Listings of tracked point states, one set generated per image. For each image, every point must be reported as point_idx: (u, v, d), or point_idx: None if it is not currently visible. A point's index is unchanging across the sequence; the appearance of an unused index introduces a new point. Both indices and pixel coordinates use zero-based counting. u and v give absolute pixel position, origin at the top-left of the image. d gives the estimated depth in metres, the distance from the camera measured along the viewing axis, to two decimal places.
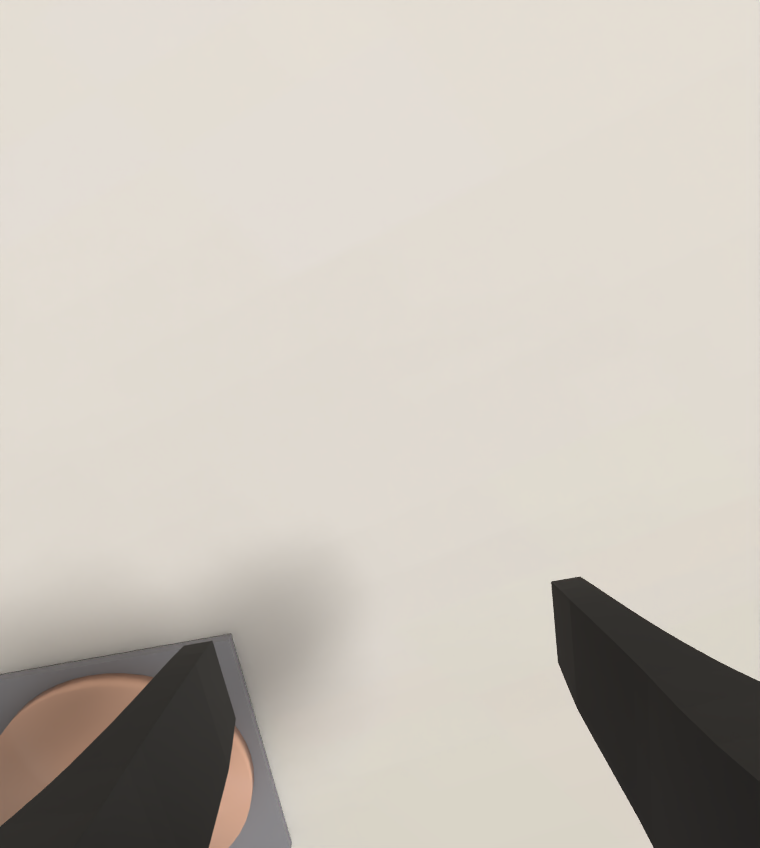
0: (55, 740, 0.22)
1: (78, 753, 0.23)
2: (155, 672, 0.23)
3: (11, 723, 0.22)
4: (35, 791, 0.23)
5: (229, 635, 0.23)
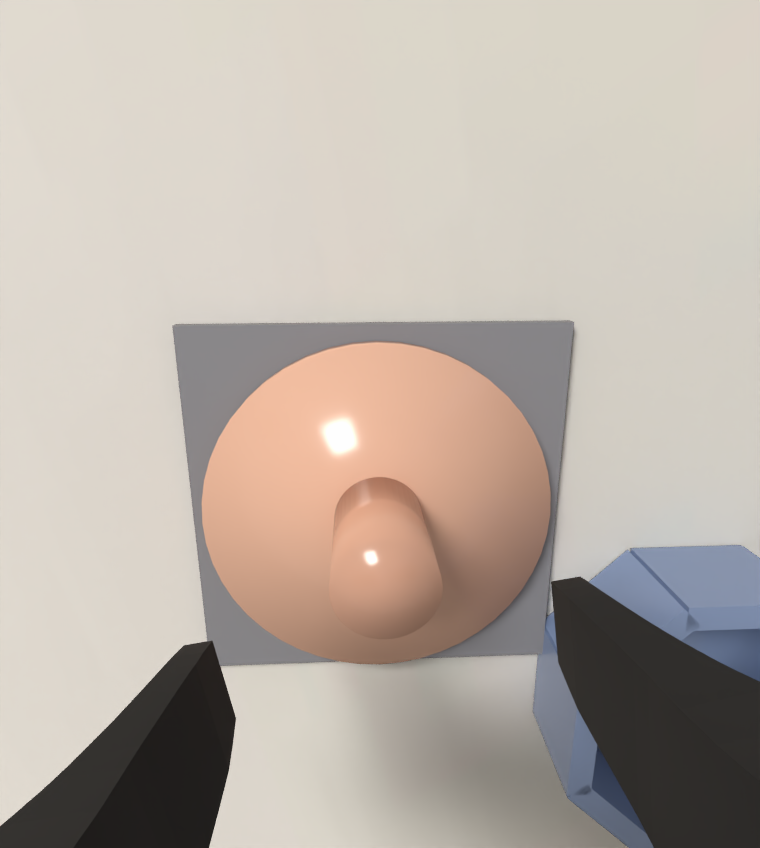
0: (277, 569, 0.18)
1: (302, 550, 0.17)
2: (213, 432, 0.17)
3: (244, 609, 0.18)
4: None
5: None
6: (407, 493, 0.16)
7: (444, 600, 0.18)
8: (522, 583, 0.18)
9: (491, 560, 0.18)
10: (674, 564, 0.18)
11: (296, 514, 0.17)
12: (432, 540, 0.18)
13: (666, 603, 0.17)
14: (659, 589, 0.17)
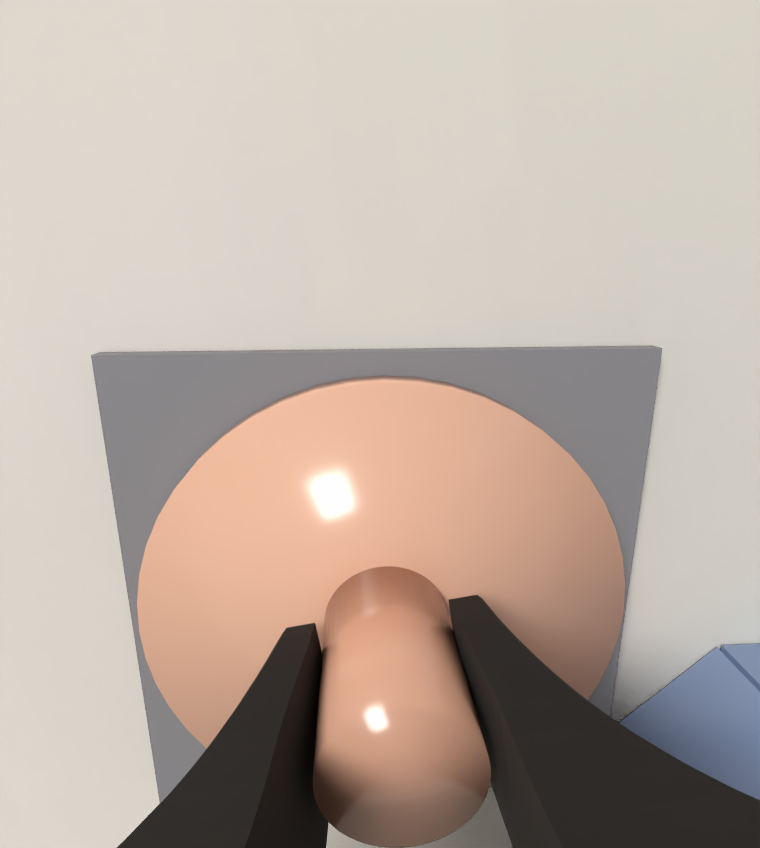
0: (245, 690, 0.13)
1: None
2: (155, 503, 0.12)
3: (202, 741, 0.13)
4: None
5: None
6: (427, 593, 0.11)
7: None
8: None
9: None
10: None
11: (271, 617, 0.12)
12: None
13: None
14: None
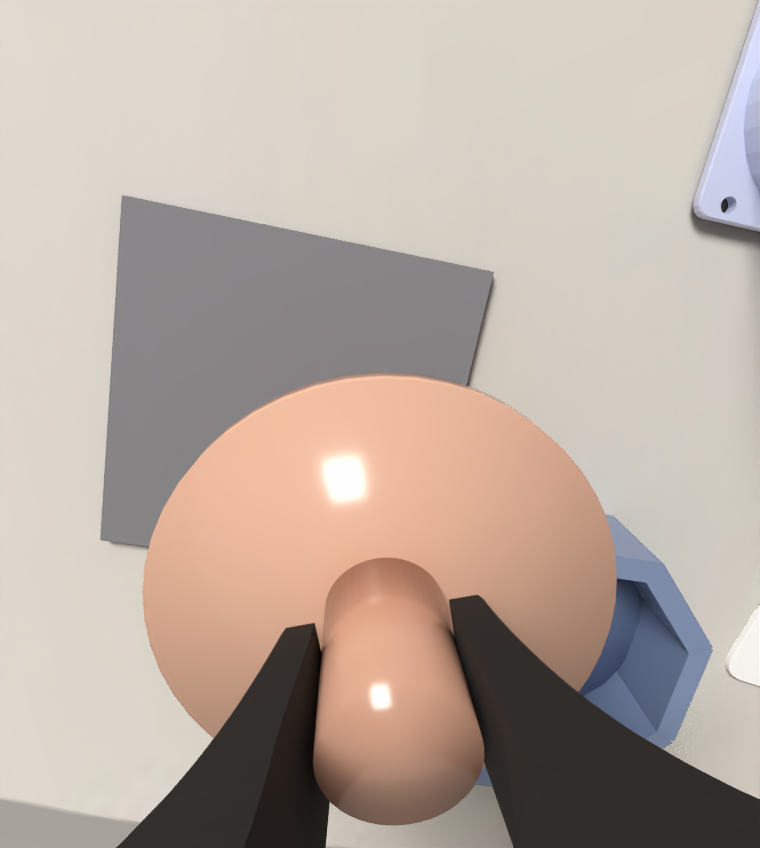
0: (247, 678, 0.13)
1: None
2: (143, 308, 0.18)
3: (205, 727, 0.13)
4: None
5: None
6: (425, 583, 0.12)
7: None
8: None
9: None
10: None
11: (273, 607, 0.13)
12: None
13: None
14: None
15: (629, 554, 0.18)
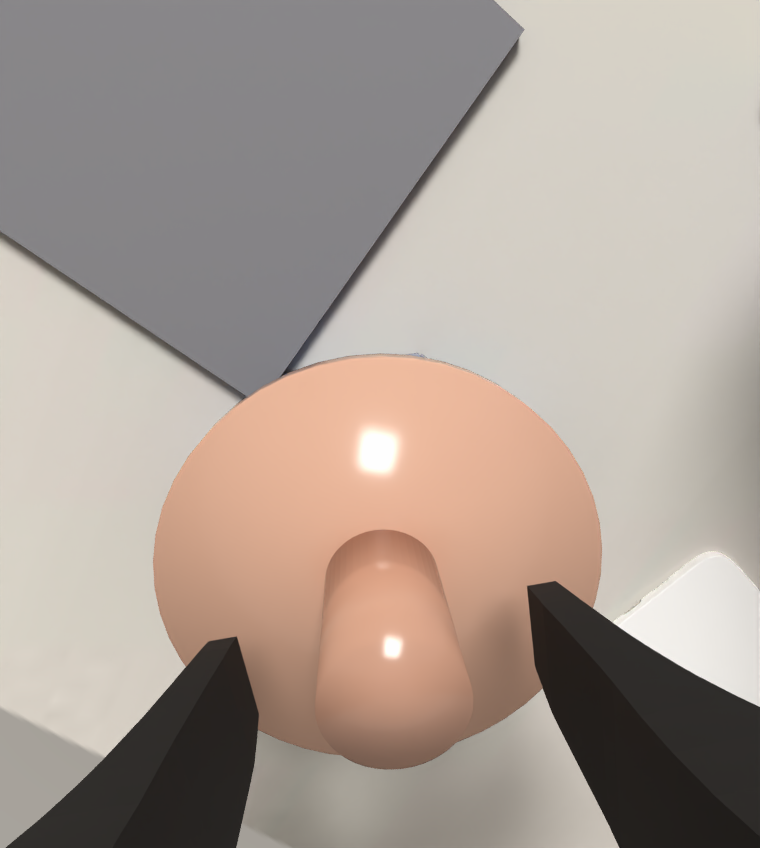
0: (251, 644, 0.14)
1: (285, 621, 0.14)
2: None
3: None
4: None
5: None
6: (420, 553, 0.13)
7: None
8: None
9: (523, 631, 0.14)
10: None
11: (276, 576, 0.13)
12: (450, 607, 0.14)
13: None
14: None
15: None
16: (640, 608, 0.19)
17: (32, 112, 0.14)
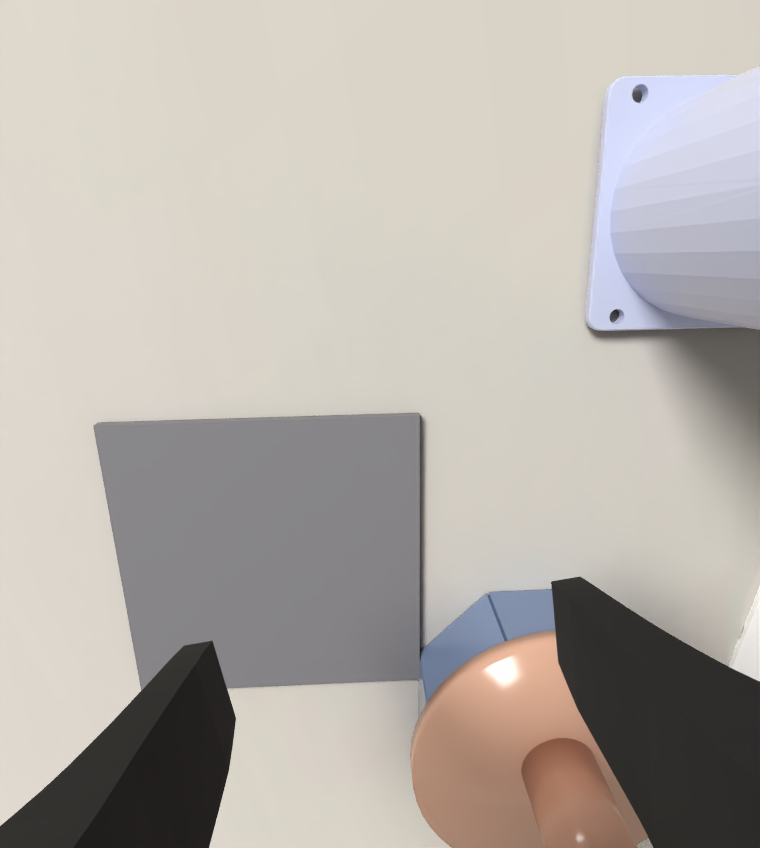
0: (511, 835, 0.21)
1: (520, 815, 0.21)
2: (132, 507, 0.21)
3: None
4: None
5: (97, 424, 0.20)
6: (567, 753, 0.19)
7: None
8: None
9: None
10: (518, 607, 0.22)
11: (499, 797, 0.21)
12: None
13: (498, 643, 0.20)
14: (497, 630, 0.21)
15: None
16: (747, 631, 0.24)
17: (211, 629, 0.23)
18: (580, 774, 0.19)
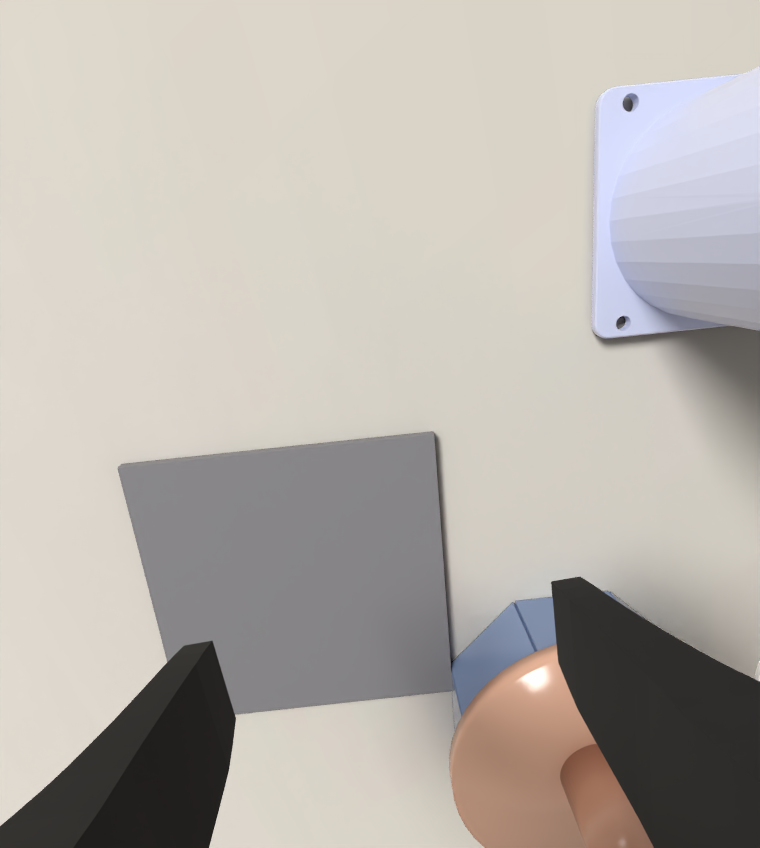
0: (555, 841, 0.22)
1: (562, 820, 0.21)
2: (160, 543, 0.22)
3: None
4: None
5: (121, 465, 0.21)
6: (605, 759, 0.20)
7: None
8: None
9: None
10: (545, 615, 0.22)
11: (540, 805, 0.21)
12: None
13: (528, 653, 0.21)
14: (525, 640, 0.21)
15: None
16: None
17: (245, 655, 0.23)
18: None
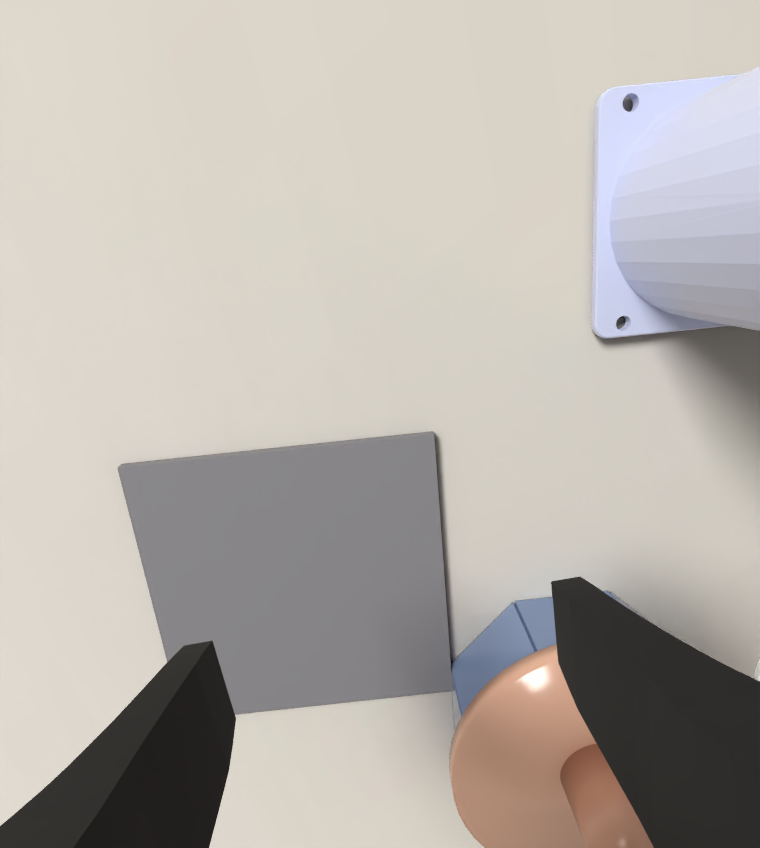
0: (555, 841, 0.22)
1: (562, 820, 0.21)
2: (160, 543, 0.22)
3: None
4: None
5: (121, 465, 0.21)
6: (605, 759, 0.20)
7: None
8: None
9: None
10: (545, 615, 0.22)
11: (540, 805, 0.21)
12: None
13: (528, 653, 0.21)
14: (525, 640, 0.21)
15: None
16: None
17: (245, 655, 0.23)
18: None
